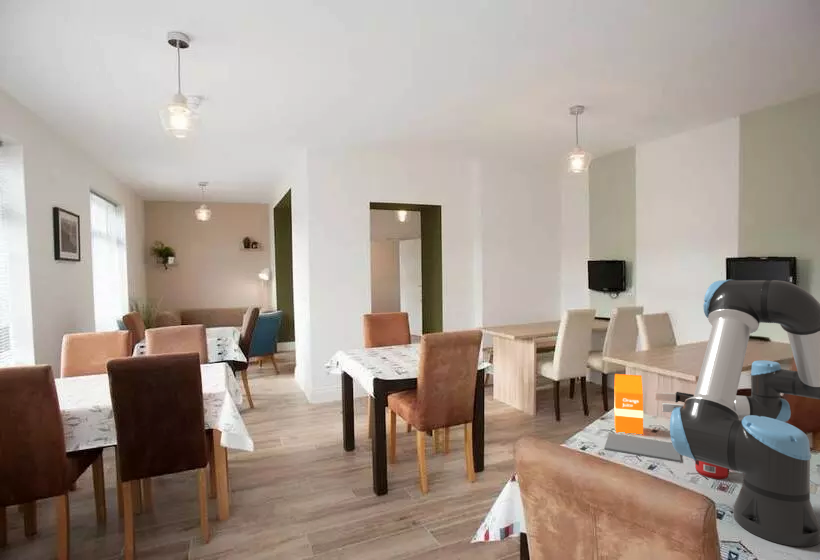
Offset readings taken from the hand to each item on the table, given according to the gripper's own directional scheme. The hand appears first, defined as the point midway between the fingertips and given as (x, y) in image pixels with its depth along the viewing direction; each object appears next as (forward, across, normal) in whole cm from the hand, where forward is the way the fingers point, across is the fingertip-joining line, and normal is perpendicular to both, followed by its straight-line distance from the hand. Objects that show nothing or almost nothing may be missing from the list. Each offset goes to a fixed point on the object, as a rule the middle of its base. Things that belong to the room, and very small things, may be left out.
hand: (658, 401), depth 156 cm
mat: (+7, -16, -11) cm, 21 cm away
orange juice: (+10, 0, -11) cm, 15 cm away
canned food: (-8, -30, -11) cm, 33 cm away
